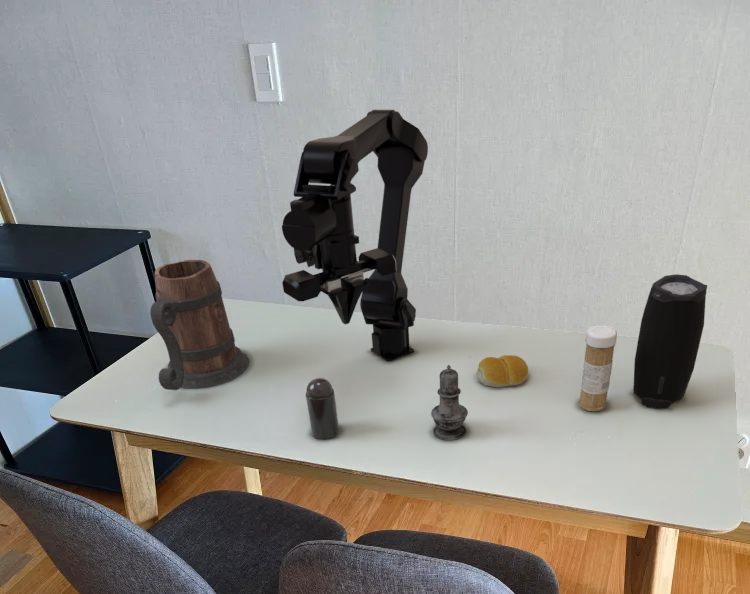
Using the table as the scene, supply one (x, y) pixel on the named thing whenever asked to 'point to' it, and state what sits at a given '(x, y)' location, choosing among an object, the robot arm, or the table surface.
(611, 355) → the sprinkles bottle
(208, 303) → the tankard
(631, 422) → the table surface
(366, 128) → the robot arm
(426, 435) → the table surface
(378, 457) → the table surface
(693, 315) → the portable speaker
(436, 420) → the grey turned piece
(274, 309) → the table surface
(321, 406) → the pepper pot
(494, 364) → the bread roll
